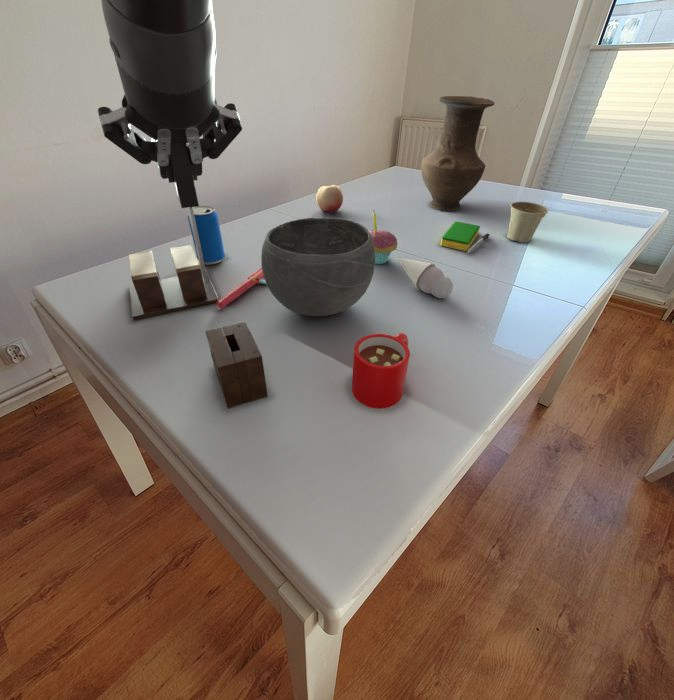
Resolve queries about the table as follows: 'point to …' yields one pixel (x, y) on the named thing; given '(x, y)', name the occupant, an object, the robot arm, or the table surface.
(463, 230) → the dish sponge
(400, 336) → the mug
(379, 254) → the cupcake
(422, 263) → the ice cream cone
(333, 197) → the fruit
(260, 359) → the knife block
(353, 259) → the bowl
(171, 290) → the slotted block
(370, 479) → the table surface
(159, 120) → the robot arm
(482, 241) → the knife
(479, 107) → the vase
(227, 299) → the pink plastic rod
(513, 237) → the flower pot
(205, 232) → the beverage can
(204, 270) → the black block with pin
